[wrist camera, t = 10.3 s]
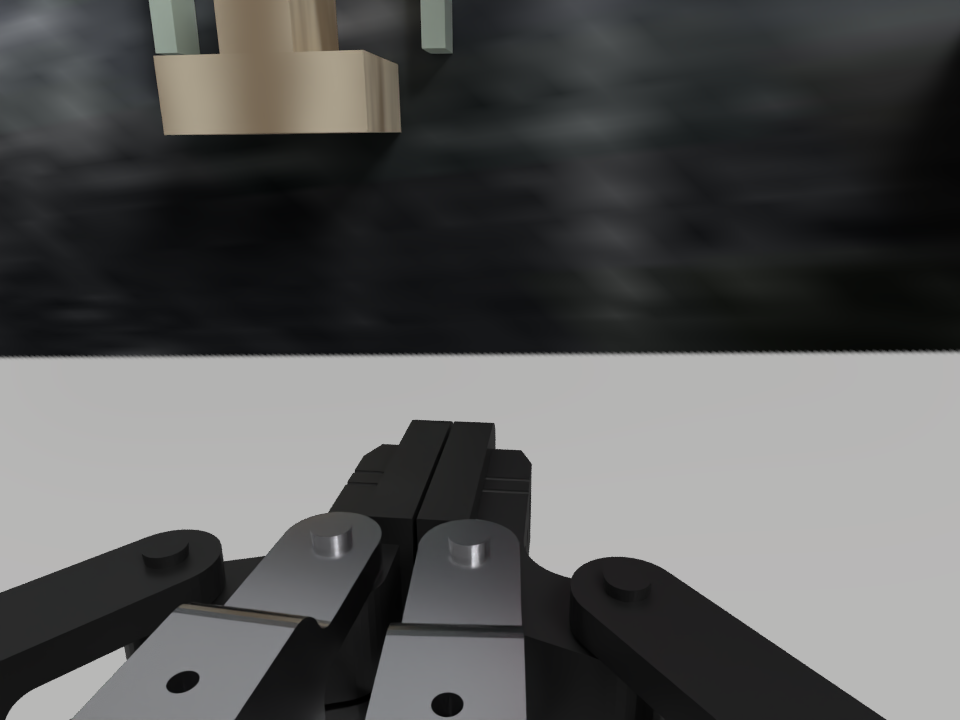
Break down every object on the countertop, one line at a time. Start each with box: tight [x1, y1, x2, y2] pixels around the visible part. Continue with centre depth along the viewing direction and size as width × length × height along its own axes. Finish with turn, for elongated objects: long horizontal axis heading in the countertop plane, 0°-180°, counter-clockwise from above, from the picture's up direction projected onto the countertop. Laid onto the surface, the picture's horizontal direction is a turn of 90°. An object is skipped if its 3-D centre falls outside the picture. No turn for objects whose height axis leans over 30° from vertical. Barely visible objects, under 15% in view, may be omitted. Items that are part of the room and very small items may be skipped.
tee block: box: [153, 0, 401, 135], centre depth 35 cm, size 10×10×7 cm
